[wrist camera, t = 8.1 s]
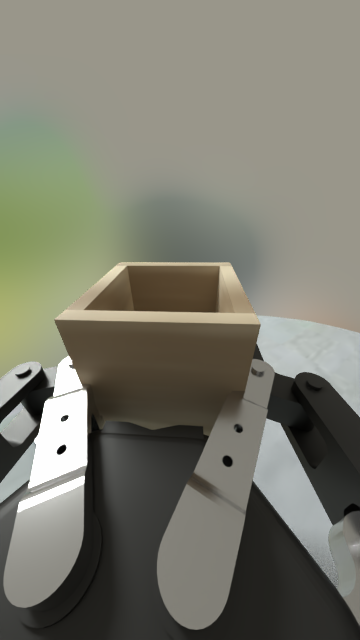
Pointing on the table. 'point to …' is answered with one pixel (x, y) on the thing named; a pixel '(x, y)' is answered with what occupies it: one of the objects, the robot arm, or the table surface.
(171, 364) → the wooden sleeve
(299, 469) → the table surface
